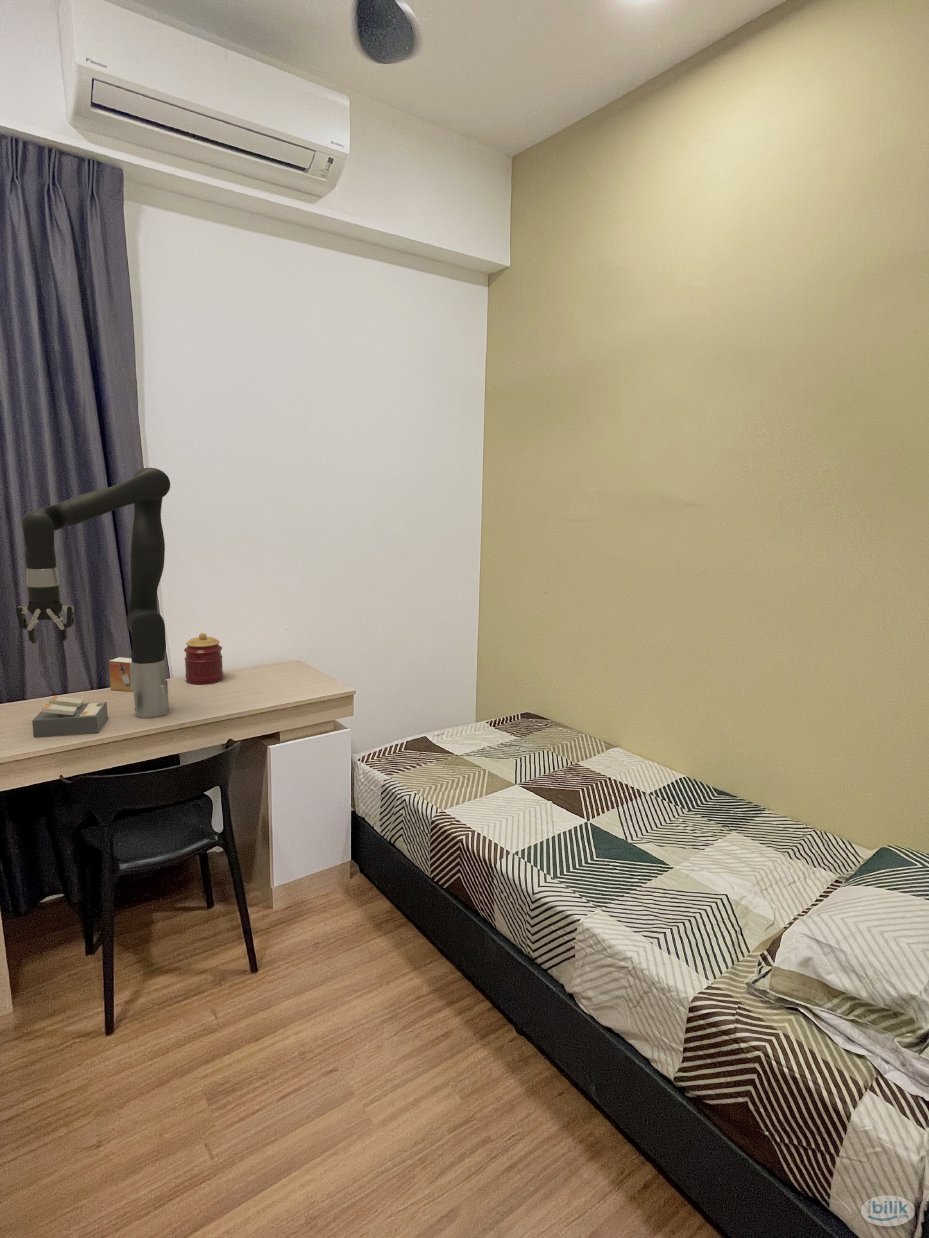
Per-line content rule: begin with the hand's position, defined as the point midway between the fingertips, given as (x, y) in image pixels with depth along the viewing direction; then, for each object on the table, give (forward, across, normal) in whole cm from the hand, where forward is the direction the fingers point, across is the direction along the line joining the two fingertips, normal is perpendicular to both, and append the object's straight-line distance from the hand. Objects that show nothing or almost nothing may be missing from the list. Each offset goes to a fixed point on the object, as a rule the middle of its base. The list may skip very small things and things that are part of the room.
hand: (48, 642), depth 183 cm
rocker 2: (+19, -2, +4) cm, 20 cm away
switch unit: (+26, -4, 0) cm, 26 cm away
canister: (+26, -37, -42) cm, 62 cm away
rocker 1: (+19, -2, -4) cm, 20 cm away
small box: (+26, -12, -36) cm, 46 cm away
